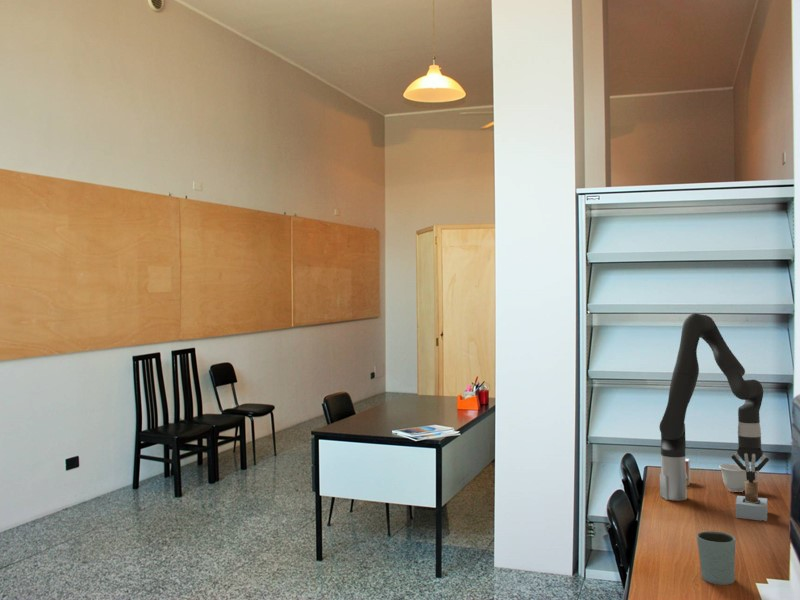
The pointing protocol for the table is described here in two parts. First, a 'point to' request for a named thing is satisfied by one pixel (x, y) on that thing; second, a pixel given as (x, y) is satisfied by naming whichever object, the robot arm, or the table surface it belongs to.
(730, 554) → the grey-green cup
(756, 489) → the walnut peg
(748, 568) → the table surface
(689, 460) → the small box
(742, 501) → the hole block
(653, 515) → the table surface
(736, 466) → the teacup
